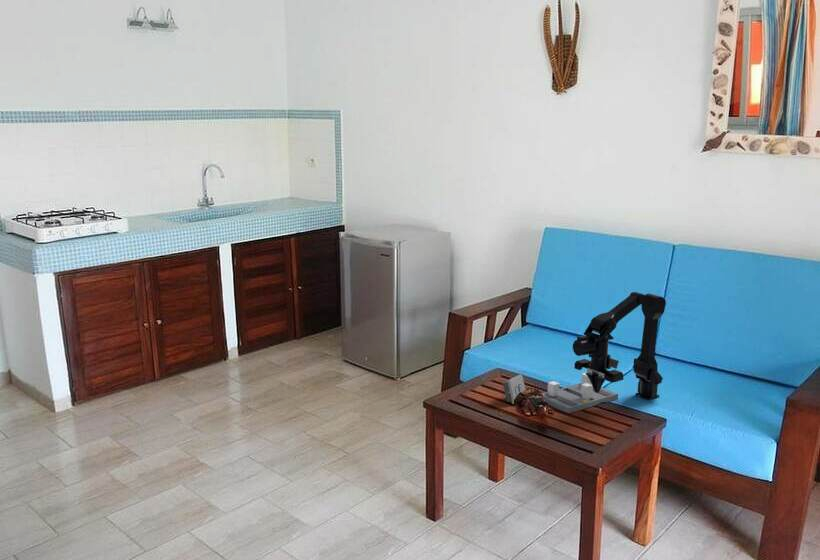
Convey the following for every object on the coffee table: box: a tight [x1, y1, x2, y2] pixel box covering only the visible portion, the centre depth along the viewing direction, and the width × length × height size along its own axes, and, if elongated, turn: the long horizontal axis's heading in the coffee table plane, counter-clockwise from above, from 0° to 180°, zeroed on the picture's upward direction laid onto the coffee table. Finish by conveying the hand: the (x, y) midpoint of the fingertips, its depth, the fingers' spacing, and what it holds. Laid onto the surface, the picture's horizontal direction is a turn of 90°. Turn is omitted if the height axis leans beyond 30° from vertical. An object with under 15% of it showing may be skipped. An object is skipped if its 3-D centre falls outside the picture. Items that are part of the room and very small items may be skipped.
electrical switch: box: [502, 374, 526, 405], centre depth 267 cm, size 9×5×9 cm, turn 141°
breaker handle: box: [581, 383, 593, 401], centre depth 265 cm, size 3×3×6 cm
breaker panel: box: [541, 372, 619, 414], centre depth 269 cm, size 16×26×7 cm, turn 123°
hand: (597, 392), depth 261 cm, fingers closed
